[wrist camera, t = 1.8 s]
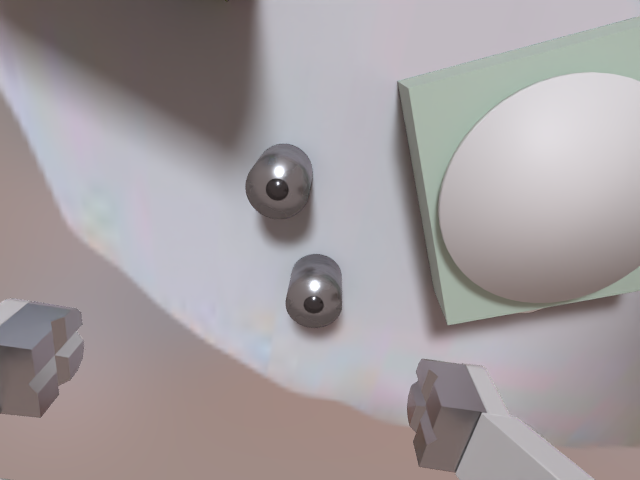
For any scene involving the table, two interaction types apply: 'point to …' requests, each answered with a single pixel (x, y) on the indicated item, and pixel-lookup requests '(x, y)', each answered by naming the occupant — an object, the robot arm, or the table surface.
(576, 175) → the scale
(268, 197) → the cylinder
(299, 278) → the spacer
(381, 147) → the table surface
